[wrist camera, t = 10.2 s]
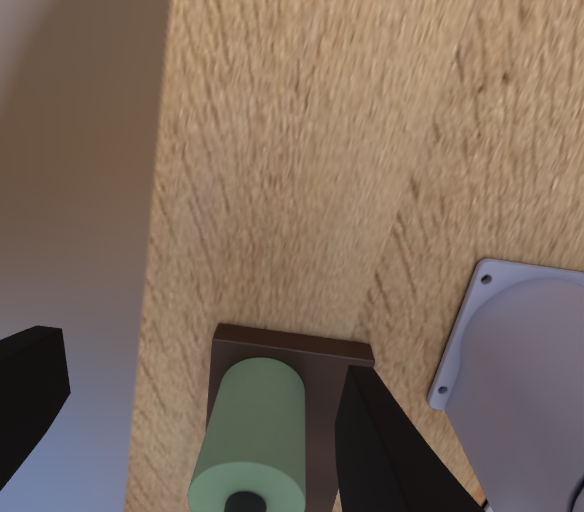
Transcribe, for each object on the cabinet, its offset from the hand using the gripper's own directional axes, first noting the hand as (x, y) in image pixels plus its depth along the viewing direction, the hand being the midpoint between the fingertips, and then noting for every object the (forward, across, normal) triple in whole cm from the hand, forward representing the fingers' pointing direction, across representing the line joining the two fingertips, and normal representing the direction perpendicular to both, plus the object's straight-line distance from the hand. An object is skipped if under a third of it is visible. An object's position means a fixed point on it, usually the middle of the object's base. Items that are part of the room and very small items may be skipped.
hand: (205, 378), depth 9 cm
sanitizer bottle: (+8, -1, +8) cm, 11 cm away
